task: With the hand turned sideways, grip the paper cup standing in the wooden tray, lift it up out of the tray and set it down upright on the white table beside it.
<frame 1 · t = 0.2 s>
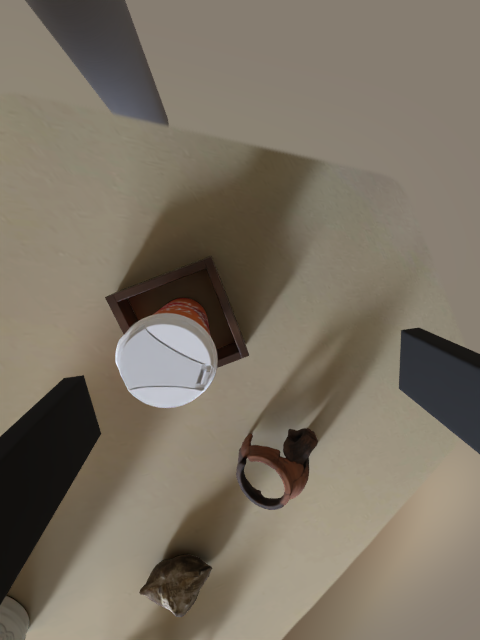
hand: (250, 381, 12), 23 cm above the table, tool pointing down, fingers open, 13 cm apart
wooden tray: (183, 320, 35), on the table
pottery mug: (276, 444, 40), on the table
paper cup: (184, 319, 35), resting in wooden tray
fossilized seashell: (178, 563, 44), on the table
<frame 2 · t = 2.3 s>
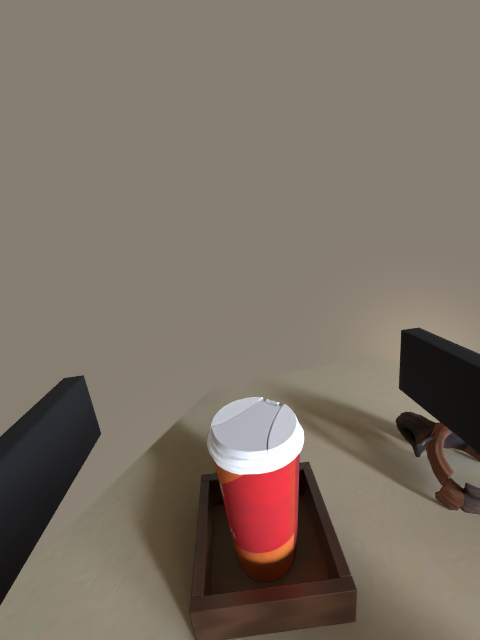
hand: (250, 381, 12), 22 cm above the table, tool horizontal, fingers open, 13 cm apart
wooden tray: (265, 547, 27), on the table
pottery mug: (449, 477, 32), on the table
paper cup: (265, 549, 27), resting in wooden tray
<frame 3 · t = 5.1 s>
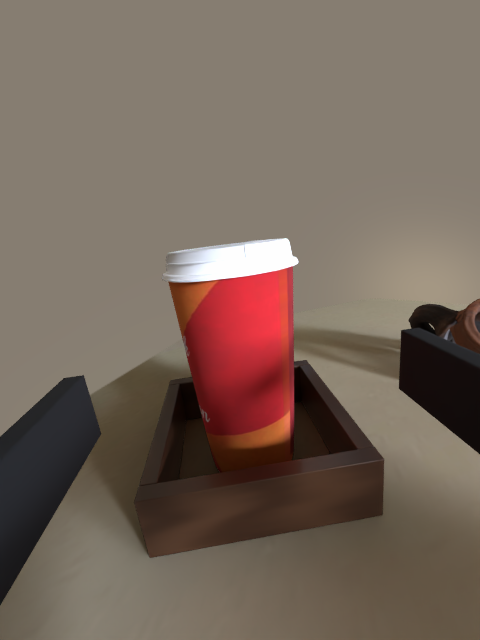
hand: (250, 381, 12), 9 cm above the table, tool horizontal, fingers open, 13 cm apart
wooden tray: (252, 452, 20), on the table
pottery mug: (479, 376, 26), on the table
paper cup: (253, 454, 20), resting in wooden tray
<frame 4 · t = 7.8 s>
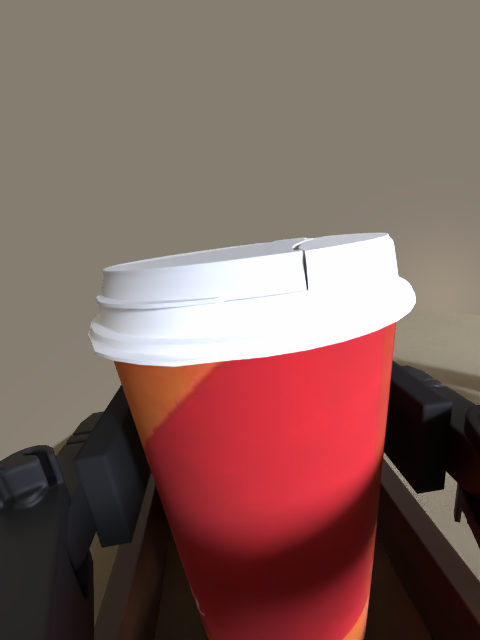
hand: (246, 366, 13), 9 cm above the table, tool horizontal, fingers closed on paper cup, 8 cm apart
wooden tray: (283, 618, 11), on the table
paper cup: (284, 621, 11), resting in wooden tray, touching gripper
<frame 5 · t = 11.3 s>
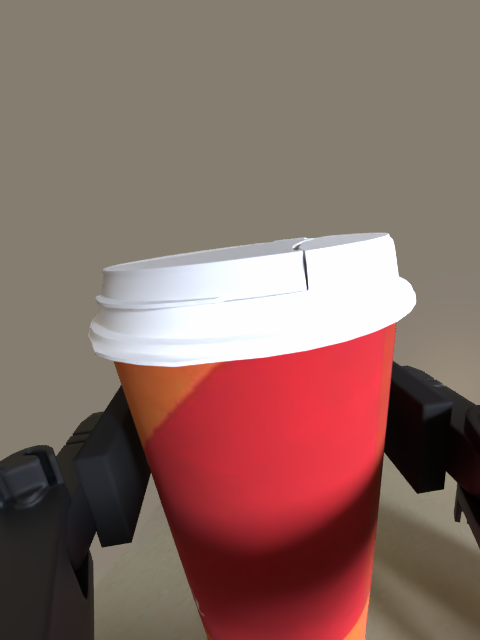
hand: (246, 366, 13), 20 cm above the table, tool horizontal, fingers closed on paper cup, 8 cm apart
paper cup: (284, 621, 11), point 11 cm above the table, touching gripper
when the fingers open (8 cm above the table, at t = 15.3 s): paper cup stays where it is, on the table.
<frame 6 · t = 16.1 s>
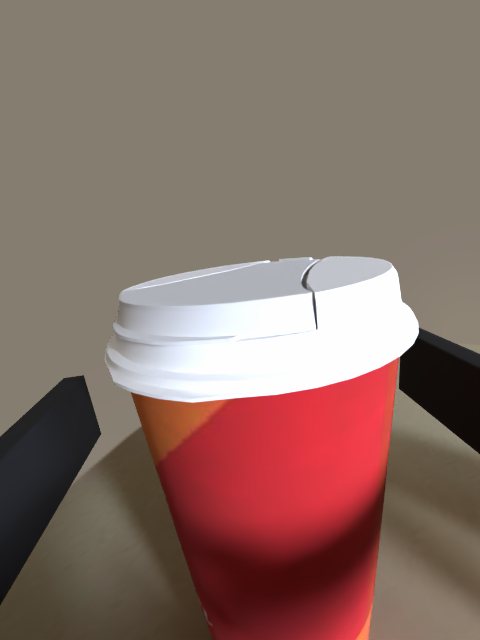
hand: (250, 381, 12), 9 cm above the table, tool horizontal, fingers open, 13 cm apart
paper cup: (288, 629, 11), on the table
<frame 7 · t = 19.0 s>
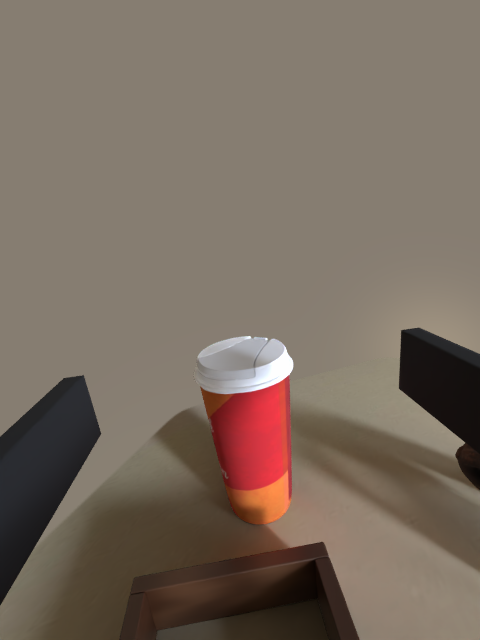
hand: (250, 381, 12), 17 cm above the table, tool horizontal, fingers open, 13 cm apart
paper cup: (260, 497, 26), on the table
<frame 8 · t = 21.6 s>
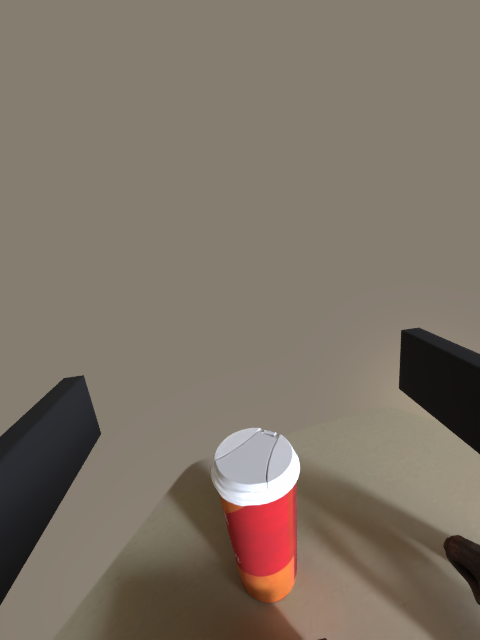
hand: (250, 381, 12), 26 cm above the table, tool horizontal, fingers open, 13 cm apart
paper cup: (267, 571, 28), on the table
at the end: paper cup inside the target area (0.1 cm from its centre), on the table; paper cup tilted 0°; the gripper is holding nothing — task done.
